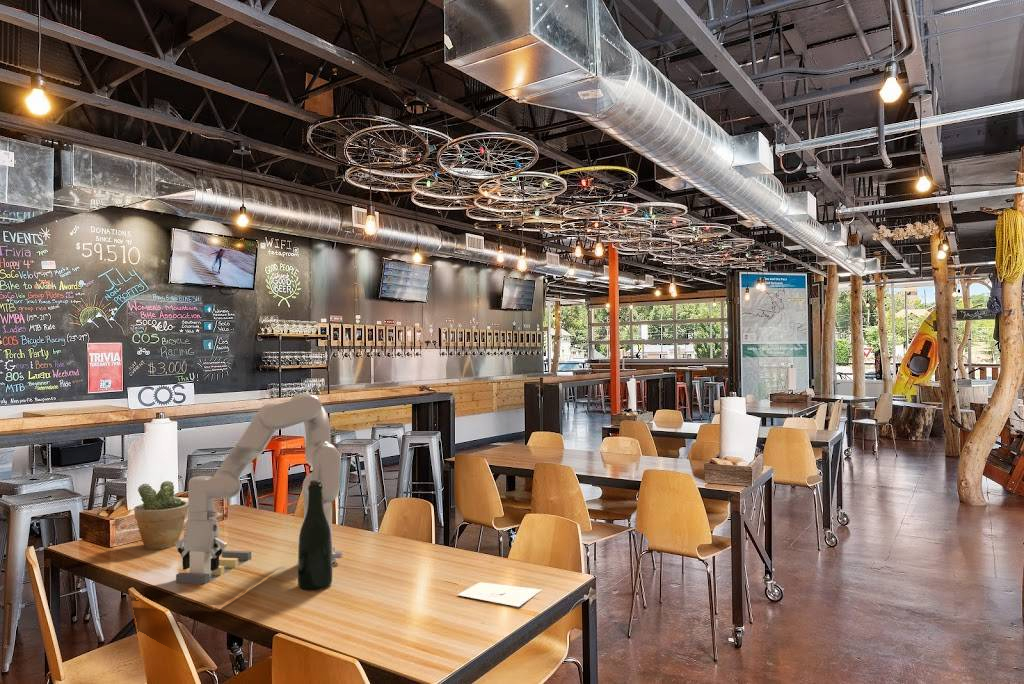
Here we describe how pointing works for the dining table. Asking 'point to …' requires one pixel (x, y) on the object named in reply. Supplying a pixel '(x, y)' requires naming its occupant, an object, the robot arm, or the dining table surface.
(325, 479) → the robot arm
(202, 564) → the frame block
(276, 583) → the dining table surface
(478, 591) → the paper sheet
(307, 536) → the beer bottle
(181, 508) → the potted plant
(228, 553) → the notch rail
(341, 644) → the dining table surface
